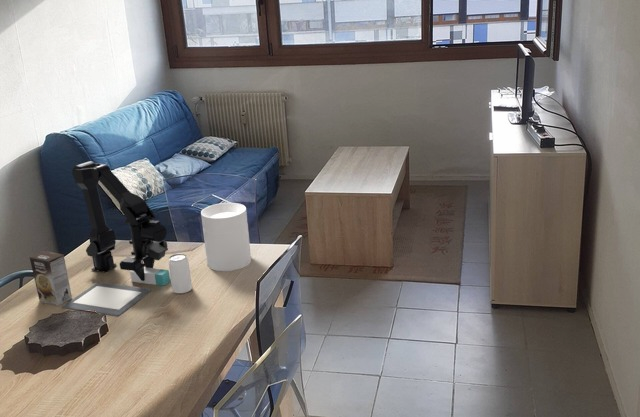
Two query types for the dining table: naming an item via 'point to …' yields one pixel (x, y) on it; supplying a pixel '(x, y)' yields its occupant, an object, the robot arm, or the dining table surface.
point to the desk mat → (107, 298)
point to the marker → (152, 276)
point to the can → (180, 273)
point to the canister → (226, 236)
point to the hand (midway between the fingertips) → (146, 277)
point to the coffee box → (51, 277)
